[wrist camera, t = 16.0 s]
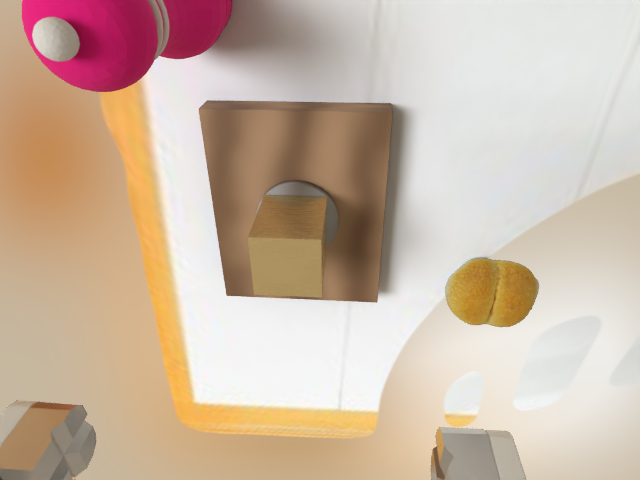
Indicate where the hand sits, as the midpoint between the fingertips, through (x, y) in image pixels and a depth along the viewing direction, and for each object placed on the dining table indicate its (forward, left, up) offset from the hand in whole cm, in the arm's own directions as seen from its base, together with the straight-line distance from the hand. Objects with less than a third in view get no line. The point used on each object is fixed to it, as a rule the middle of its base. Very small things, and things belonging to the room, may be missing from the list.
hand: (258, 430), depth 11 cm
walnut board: (+3, +12, -33) cm, 35 cm away
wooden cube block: (+3, +12, -29) cm, 32 cm away
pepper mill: (+11, -6, -33) cm, 36 cm away
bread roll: (-17, +21, -34) cm, 43 cm away
